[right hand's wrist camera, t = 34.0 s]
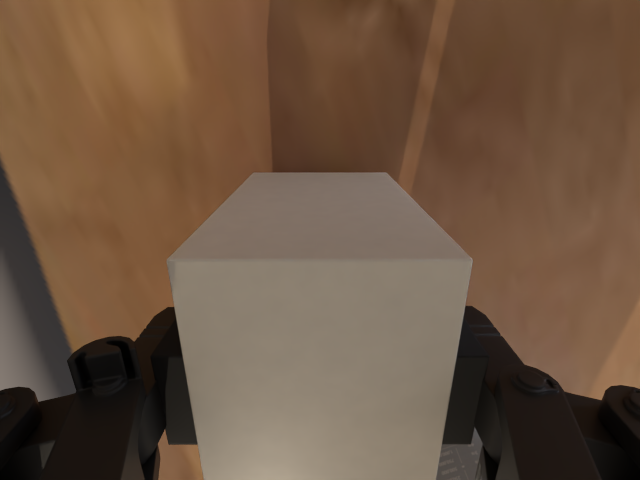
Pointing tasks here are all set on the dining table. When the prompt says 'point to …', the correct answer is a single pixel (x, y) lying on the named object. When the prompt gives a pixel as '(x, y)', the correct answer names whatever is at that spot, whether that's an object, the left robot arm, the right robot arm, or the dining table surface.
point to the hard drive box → (459, 460)
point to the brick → (319, 329)
